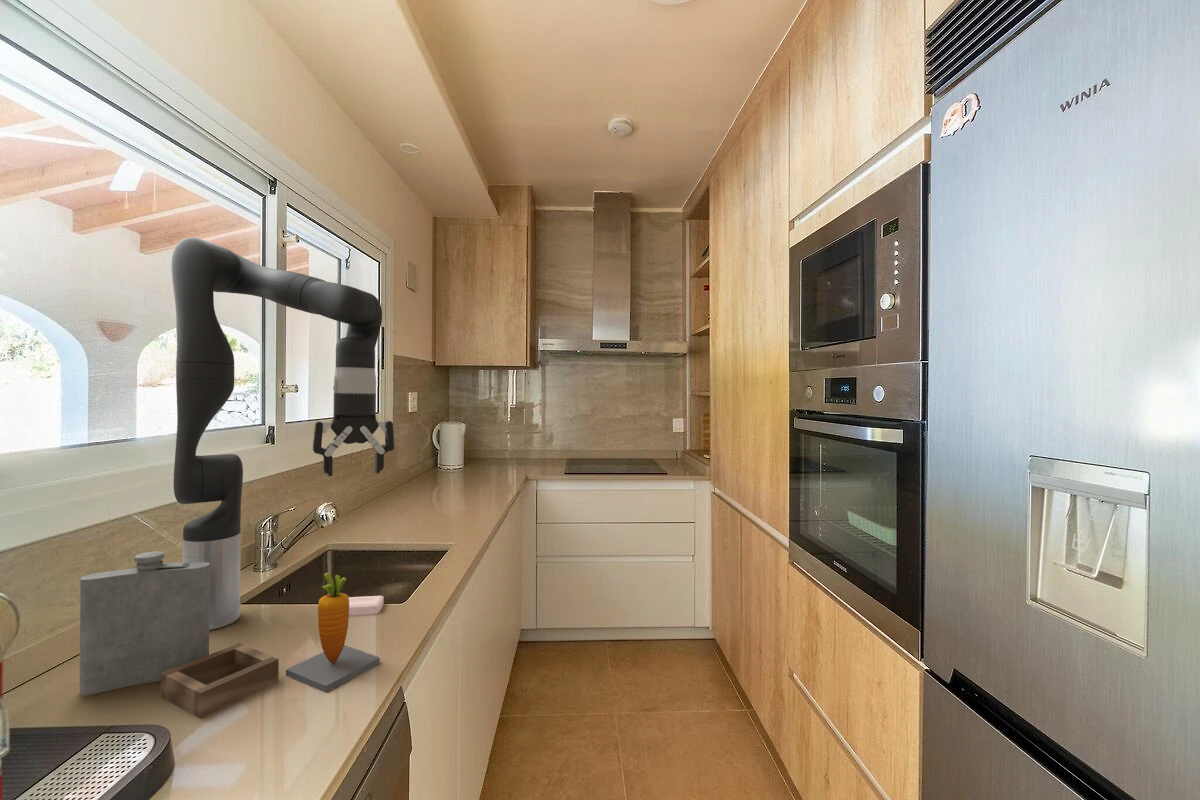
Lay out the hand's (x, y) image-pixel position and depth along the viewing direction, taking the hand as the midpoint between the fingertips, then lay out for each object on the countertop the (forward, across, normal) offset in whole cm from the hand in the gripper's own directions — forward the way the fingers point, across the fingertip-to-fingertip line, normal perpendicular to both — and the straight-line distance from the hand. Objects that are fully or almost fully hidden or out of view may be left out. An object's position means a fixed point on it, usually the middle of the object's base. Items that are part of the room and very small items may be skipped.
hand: (354, 474), depth 103 cm
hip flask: (+30, -30, -4) cm, 43 cm away
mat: (+30, -5, -16) cm, 34 cm away
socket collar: (+30, -20, -13) cm, 39 cm away
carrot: (+29, -5, -16) cm, 34 cm away
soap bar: (+31, +2, +8) cm, 32 cm away
